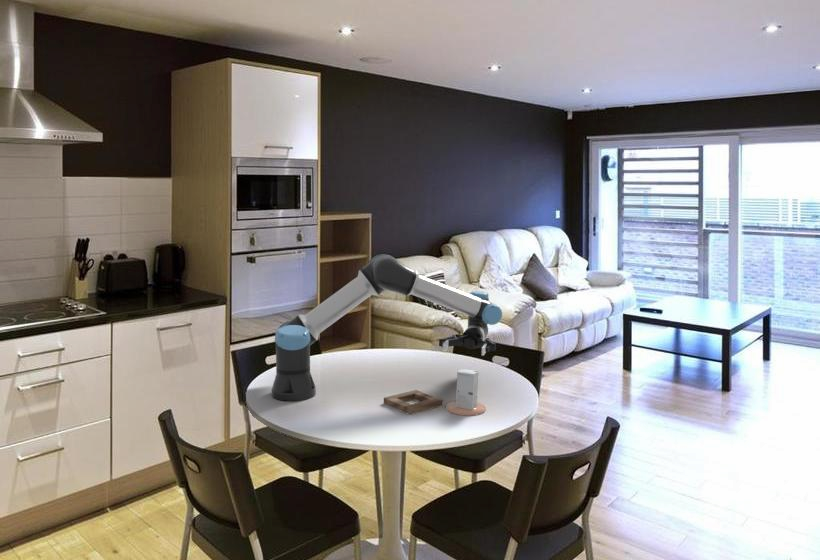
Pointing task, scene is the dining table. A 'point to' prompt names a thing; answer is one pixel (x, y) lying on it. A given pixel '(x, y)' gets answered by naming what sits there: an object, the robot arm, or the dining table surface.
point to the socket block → (425, 404)
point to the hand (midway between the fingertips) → (463, 349)
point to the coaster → (460, 411)
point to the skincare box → (467, 389)
